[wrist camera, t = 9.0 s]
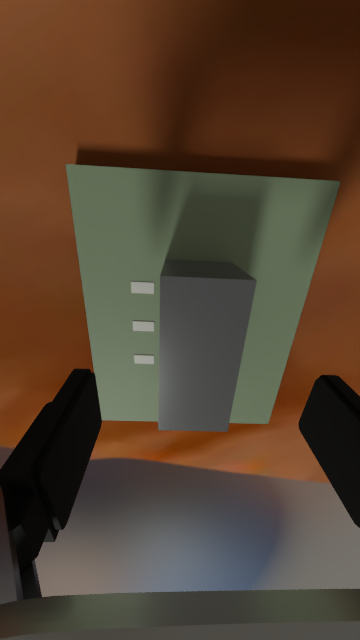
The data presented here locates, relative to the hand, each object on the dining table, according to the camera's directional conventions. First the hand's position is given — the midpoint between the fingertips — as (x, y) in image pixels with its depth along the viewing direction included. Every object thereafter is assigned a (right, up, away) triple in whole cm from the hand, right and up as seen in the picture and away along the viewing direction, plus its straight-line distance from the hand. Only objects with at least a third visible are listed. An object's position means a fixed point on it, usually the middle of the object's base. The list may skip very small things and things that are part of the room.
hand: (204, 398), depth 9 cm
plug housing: (0, +3, +7) cm, 8 cm away
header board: (0, +3, +8) cm, 9 cm away
